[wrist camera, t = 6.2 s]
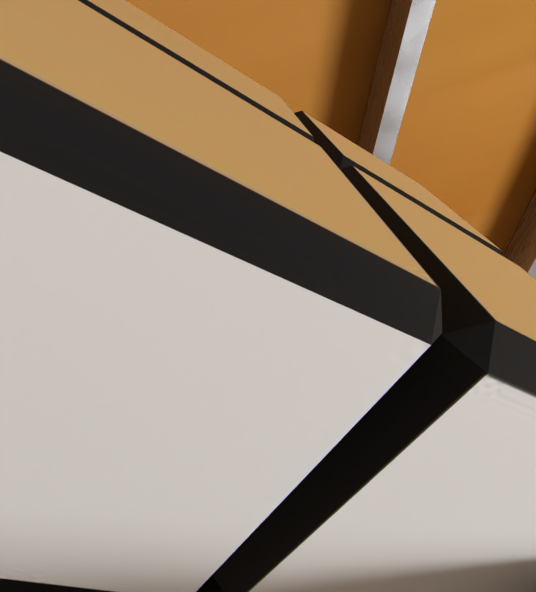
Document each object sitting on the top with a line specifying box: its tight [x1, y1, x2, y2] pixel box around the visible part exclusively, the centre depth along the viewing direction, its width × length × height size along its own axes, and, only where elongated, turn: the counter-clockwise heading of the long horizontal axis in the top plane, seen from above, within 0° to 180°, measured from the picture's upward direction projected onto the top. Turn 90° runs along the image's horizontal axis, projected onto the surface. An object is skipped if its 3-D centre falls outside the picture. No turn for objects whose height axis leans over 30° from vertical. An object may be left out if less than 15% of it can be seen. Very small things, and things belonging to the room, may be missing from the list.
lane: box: [358, 0, 536, 279], centre depth 27 cm, size 15×21×5 cm
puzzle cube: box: [0, 0, 536, 592], centre depth 9 cm, size 10×10×10 cm
